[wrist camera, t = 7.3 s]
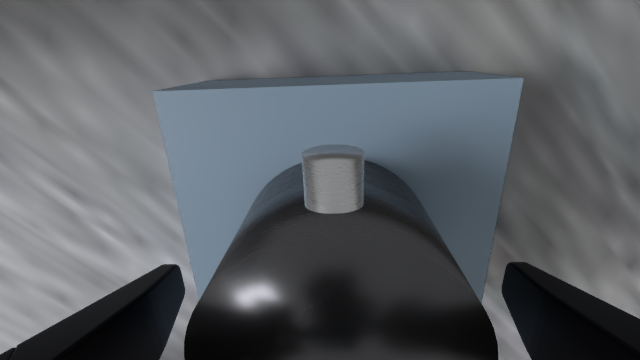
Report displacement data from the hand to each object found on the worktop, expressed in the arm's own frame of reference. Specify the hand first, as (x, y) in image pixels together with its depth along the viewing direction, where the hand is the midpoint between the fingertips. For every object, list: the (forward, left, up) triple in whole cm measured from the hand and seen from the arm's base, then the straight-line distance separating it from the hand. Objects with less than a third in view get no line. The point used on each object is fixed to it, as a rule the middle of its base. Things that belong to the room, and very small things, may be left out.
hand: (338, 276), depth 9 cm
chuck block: (0, 0, -6) cm, 6 cm away
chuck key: (0, 0, -5) cm, 5 cm away
